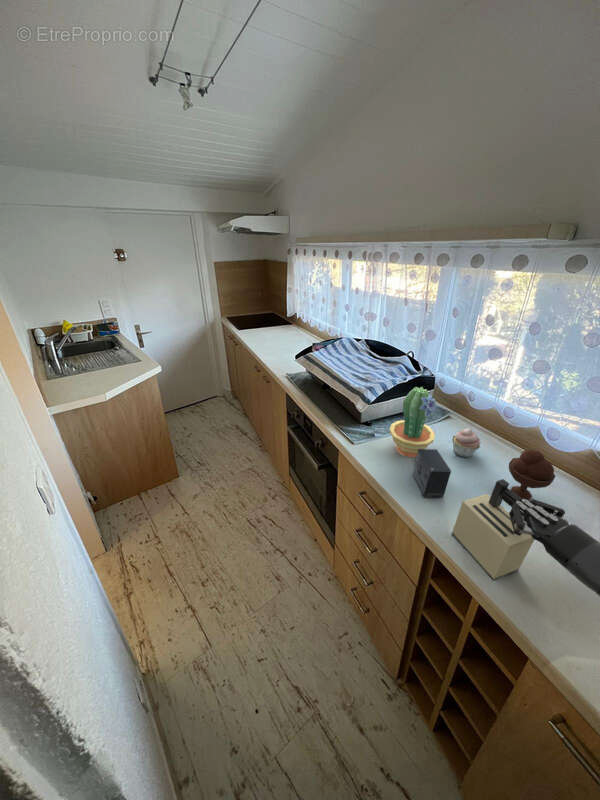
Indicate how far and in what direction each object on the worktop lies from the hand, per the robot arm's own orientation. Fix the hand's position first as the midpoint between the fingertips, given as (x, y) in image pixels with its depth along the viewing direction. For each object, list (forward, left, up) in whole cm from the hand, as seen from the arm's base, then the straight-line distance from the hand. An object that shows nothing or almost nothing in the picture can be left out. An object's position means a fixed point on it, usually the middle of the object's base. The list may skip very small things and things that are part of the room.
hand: (503, 491), depth 70 cm
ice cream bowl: (-16, -20, -17) cm, 31 cm away
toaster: (+1, +3, -17) cm, 17 cm away
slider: (0, -1, -5) cm, 5 cm away
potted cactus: (+15, -36, -17) cm, 42 cm away
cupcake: (-4, -38, -17) cm, 42 cm away
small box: (+11, -18, -17) cm, 27 cm away
